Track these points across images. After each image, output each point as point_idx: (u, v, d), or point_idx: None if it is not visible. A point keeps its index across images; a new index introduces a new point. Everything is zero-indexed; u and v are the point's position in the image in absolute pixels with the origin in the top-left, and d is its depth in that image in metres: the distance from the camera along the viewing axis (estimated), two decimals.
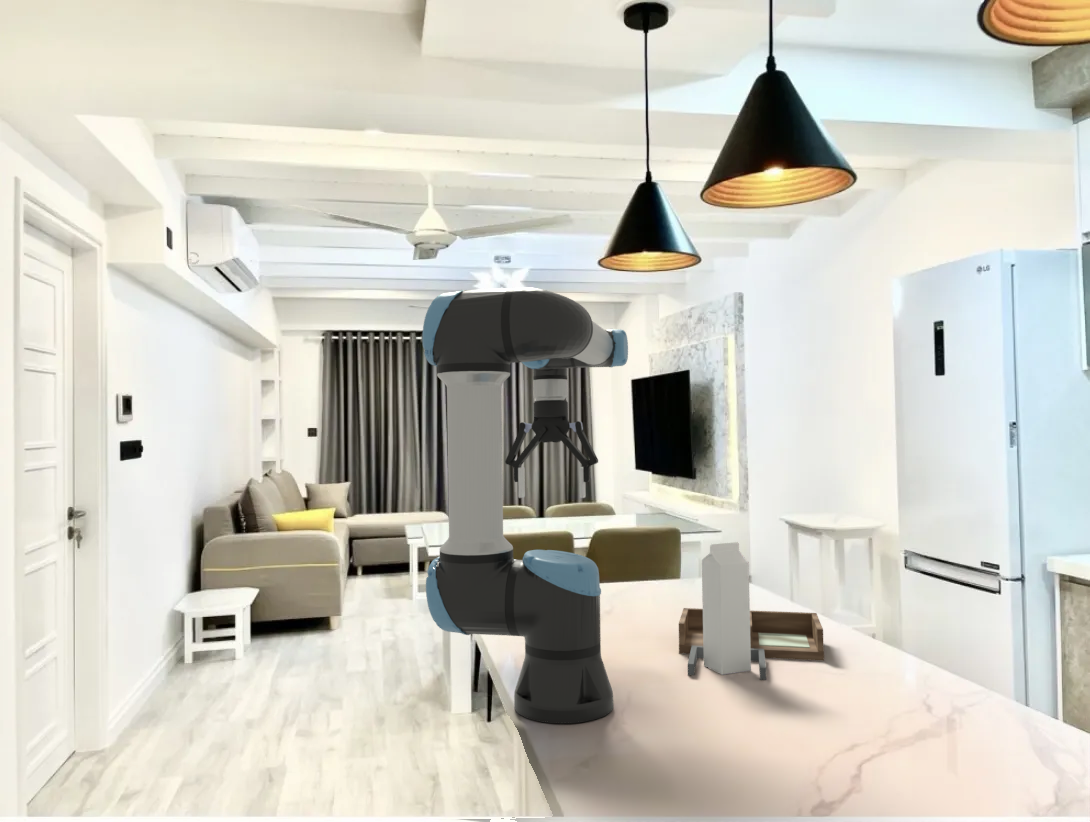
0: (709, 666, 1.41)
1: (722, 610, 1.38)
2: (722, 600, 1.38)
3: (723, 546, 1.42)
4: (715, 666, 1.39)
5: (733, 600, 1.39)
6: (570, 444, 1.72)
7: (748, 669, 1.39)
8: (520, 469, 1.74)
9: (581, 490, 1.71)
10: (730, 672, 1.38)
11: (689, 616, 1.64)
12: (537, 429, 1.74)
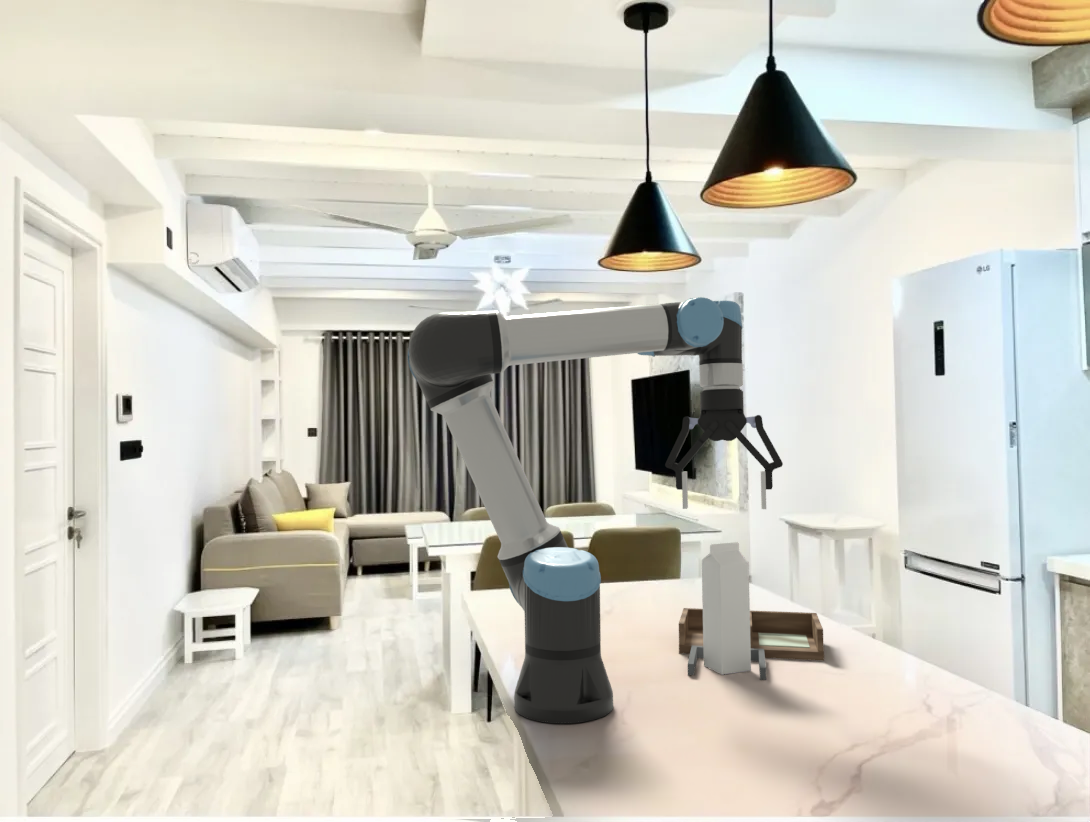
0: (709, 666, 1.41)
1: (722, 610, 1.38)
2: (722, 600, 1.38)
3: (723, 546, 1.42)
4: (715, 666, 1.39)
5: (733, 600, 1.39)
6: (748, 443, 1.40)
7: (748, 669, 1.39)
8: (684, 474, 1.42)
9: (763, 499, 1.39)
10: (730, 672, 1.38)
11: (689, 616, 1.64)
12: (706, 425, 1.42)
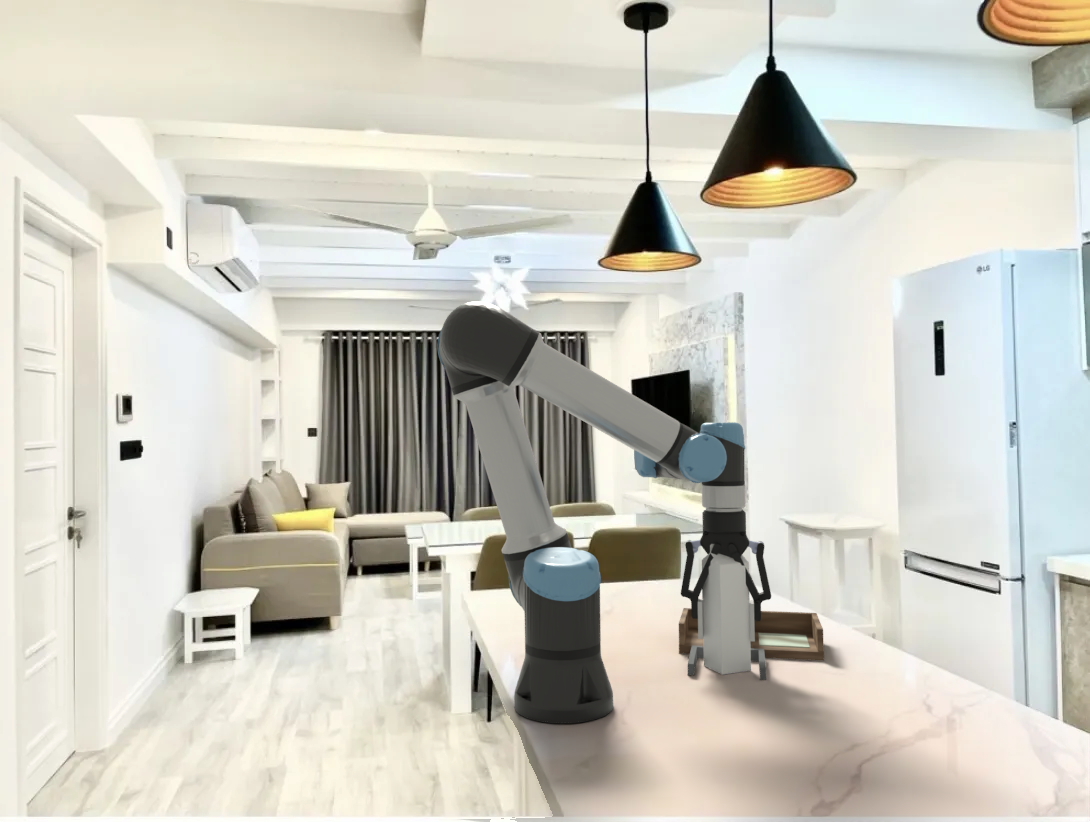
0: (709, 666, 1.41)
1: (722, 610, 1.38)
2: (722, 600, 1.38)
3: None
4: (715, 666, 1.39)
5: (733, 600, 1.39)
6: (745, 570, 1.40)
7: (748, 669, 1.39)
8: (700, 603, 1.41)
9: (752, 632, 1.39)
10: (730, 672, 1.38)
11: (689, 616, 1.64)
12: (709, 545, 1.41)
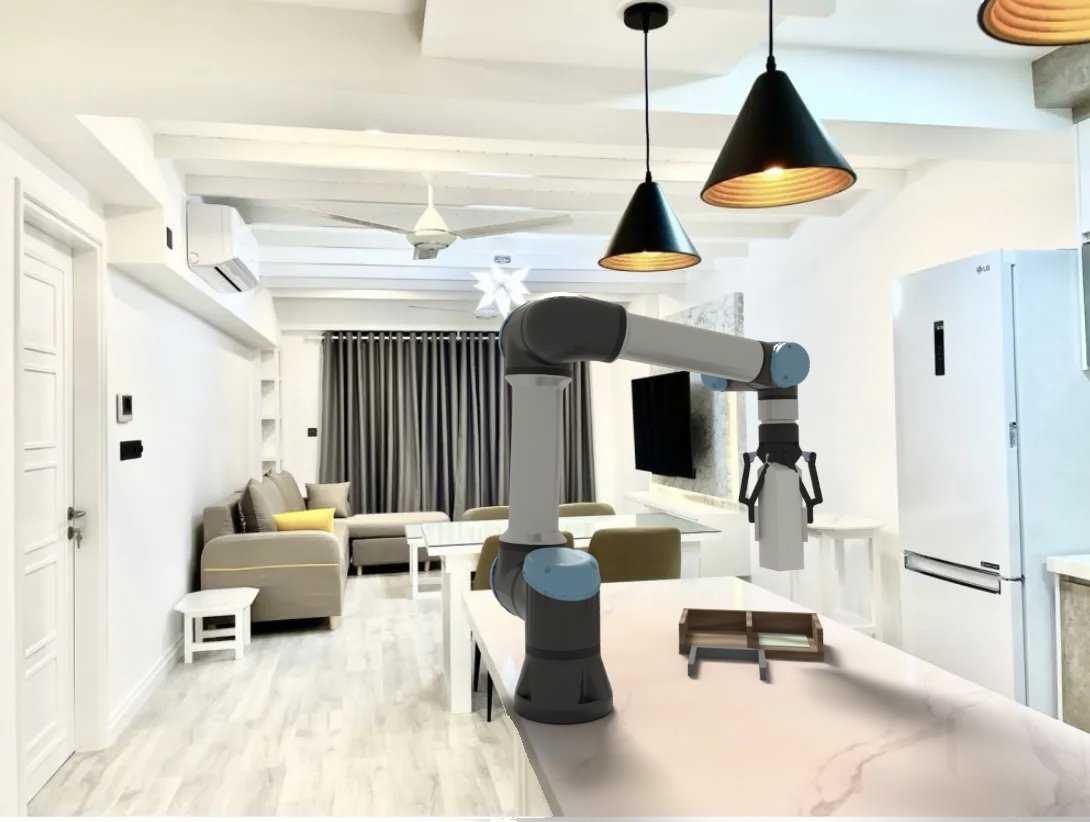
0: (765, 566, 1.54)
1: (778, 512, 1.50)
2: (778, 503, 1.50)
3: None
4: (771, 565, 1.52)
5: (788, 504, 1.51)
6: None
7: (801, 567, 1.52)
8: (757, 509, 1.54)
9: (805, 533, 1.52)
10: (785, 569, 1.51)
11: (689, 616, 1.64)
12: (765, 455, 1.54)
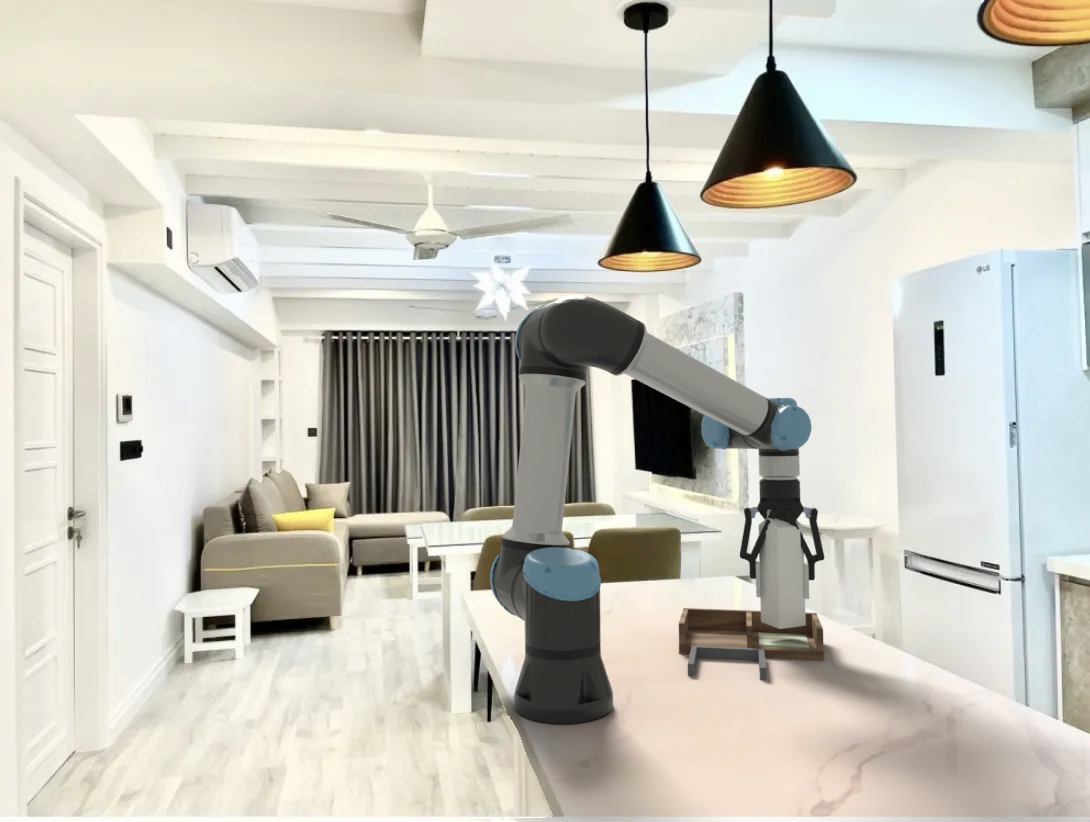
0: (766, 622, 1.53)
1: (779, 569, 1.50)
2: (779, 560, 1.50)
3: None
4: (772, 621, 1.52)
5: (789, 561, 1.51)
6: (800, 533, 1.52)
7: (803, 624, 1.52)
8: (758, 565, 1.53)
9: (807, 590, 1.51)
10: (787, 626, 1.50)
11: (689, 616, 1.64)
12: (766, 511, 1.54)
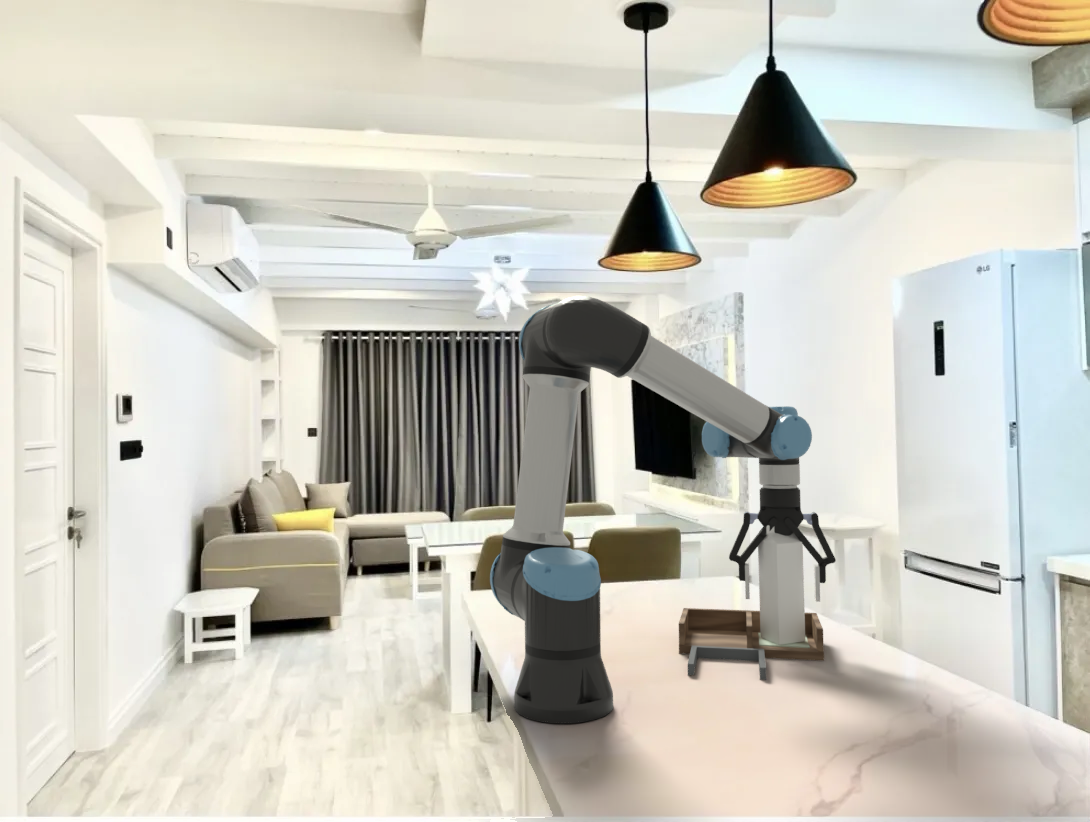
0: (766, 637, 1.53)
1: (779, 585, 1.50)
2: (778, 576, 1.50)
3: None
4: (772, 637, 1.52)
5: (789, 577, 1.51)
6: (805, 539, 1.52)
7: (802, 640, 1.51)
8: (747, 567, 1.54)
9: (818, 593, 1.51)
10: (786, 642, 1.50)
11: (689, 616, 1.64)
12: (765, 520, 1.54)
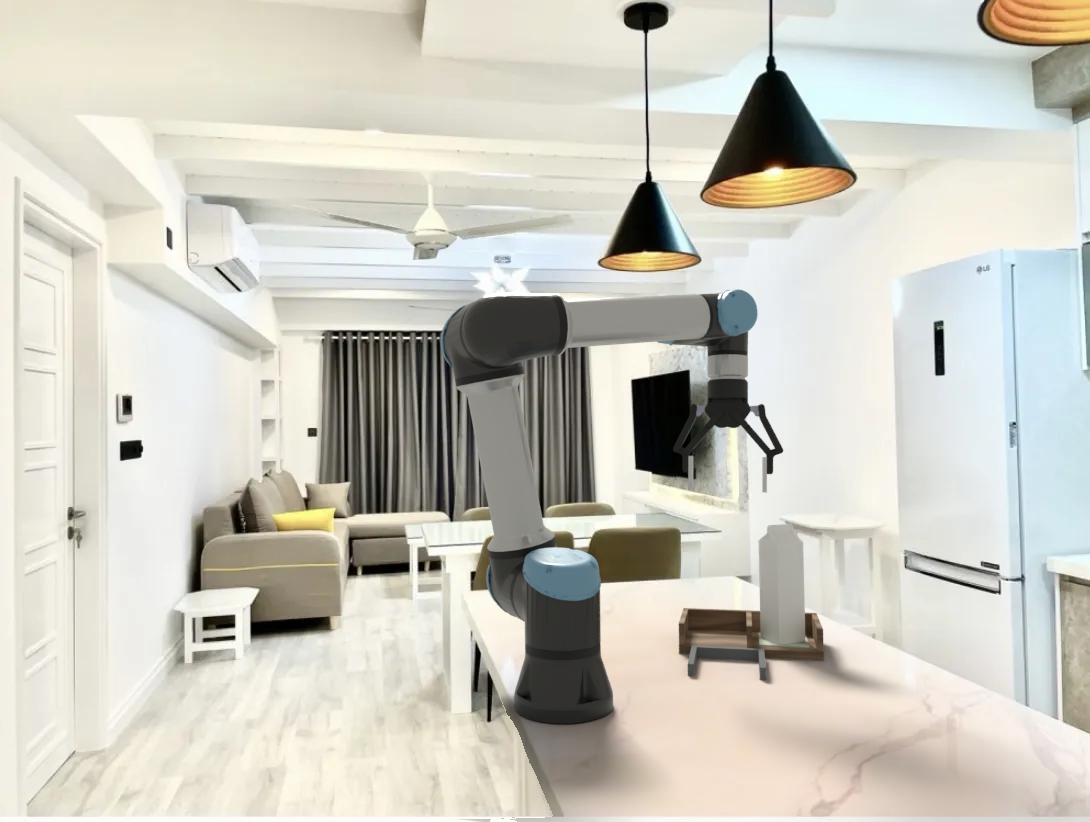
0: (766, 637, 1.53)
1: (779, 585, 1.50)
2: (779, 576, 1.50)
3: (778, 527, 1.54)
4: (772, 637, 1.52)
5: (789, 577, 1.51)
6: (752, 430, 1.50)
7: (802, 640, 1.51)
8: (691, 458, 1.52)
9: (764, 483, 1.48)
10: (786, 642, 1.50)
11: (689, 616, 1.64)
12: (712, 412, 1.51)
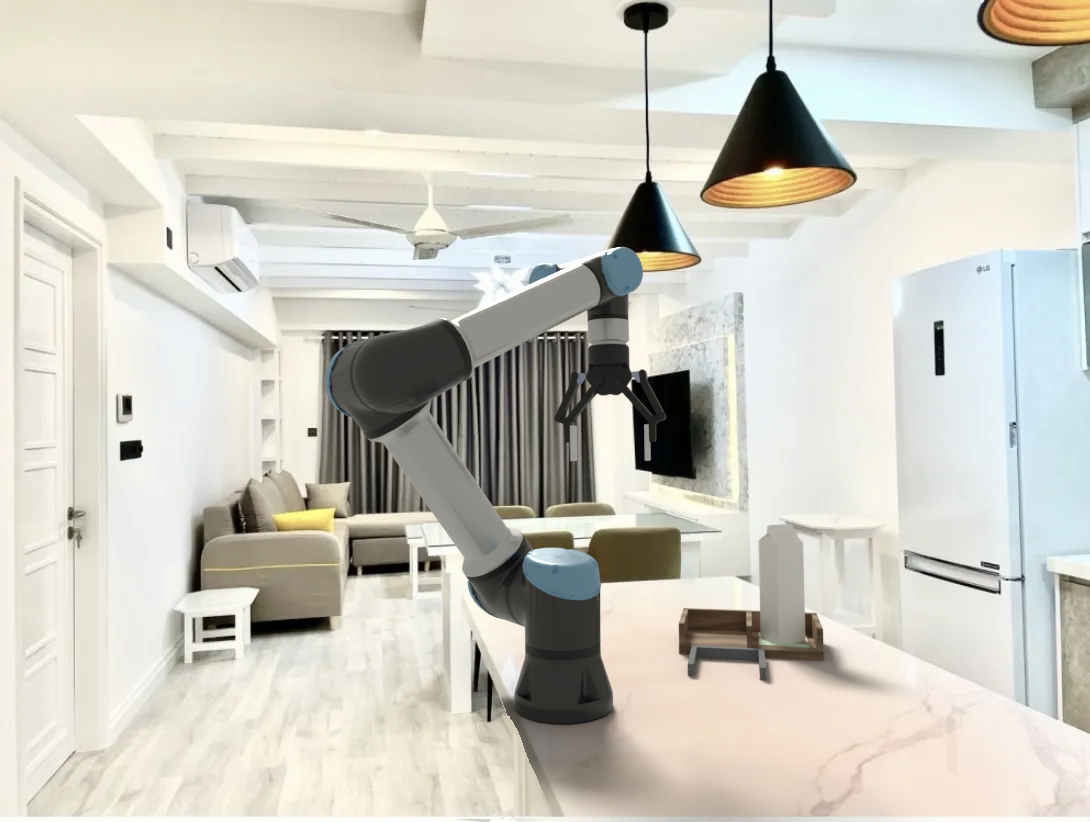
0: (766, 637, 1.53)
1: (779, 585, 1.50)
2: (779, 576, 1.50)
3: (778, 527, 1.54)
4: (772, 637, 1.52)
5: (789, 577, 1.51)
6: (633, 397, 1.44)
7: (802, 640, 1.51)
8: (572, 427, 1.46)
9: (646, 451, 1.43)
10: (786, 642, 1.50)
11: (689, 616, 1.64)
12: (593, 379, 1.46)
